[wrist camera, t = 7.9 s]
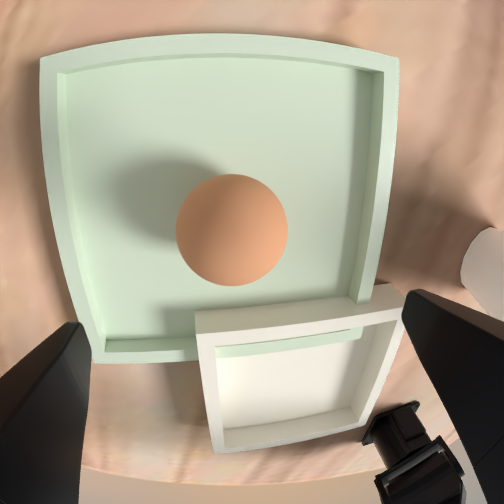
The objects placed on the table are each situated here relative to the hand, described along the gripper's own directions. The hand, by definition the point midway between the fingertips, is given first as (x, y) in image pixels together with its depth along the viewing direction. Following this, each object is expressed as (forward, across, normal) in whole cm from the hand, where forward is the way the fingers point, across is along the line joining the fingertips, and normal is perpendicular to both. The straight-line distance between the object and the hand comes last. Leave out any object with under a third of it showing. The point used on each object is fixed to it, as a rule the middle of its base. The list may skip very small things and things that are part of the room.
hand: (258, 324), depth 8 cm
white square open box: (+10, -5, +13) cm, 18 cm away
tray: (+10, 0, 0) cm, 10 cm away
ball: (+7, 0, 0) cm, 7 cm away
